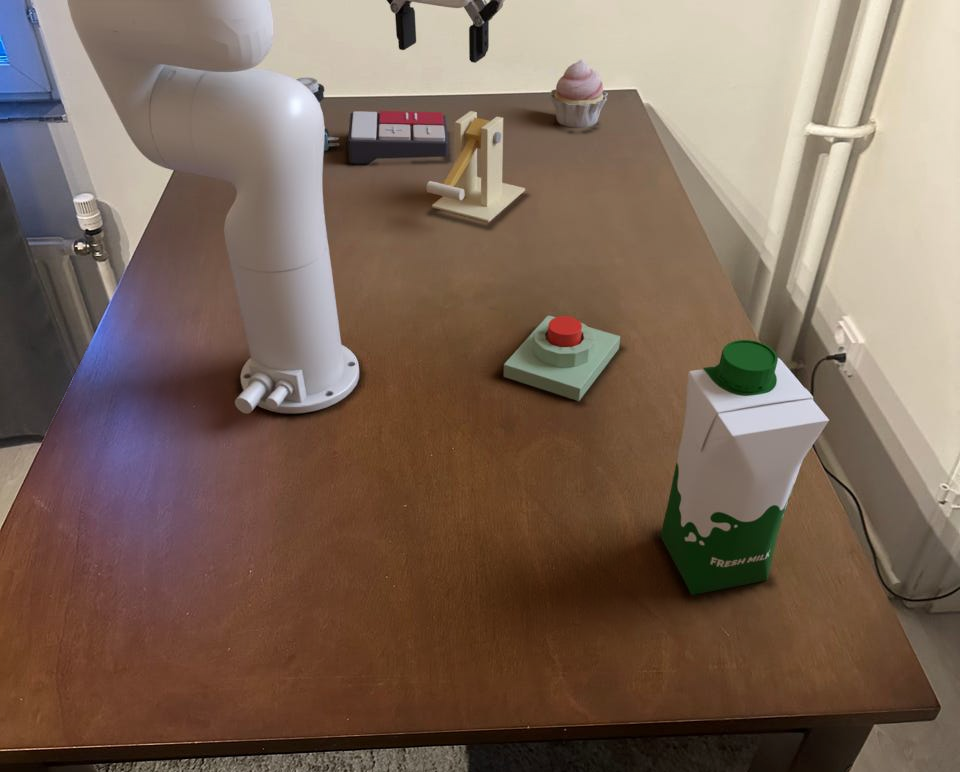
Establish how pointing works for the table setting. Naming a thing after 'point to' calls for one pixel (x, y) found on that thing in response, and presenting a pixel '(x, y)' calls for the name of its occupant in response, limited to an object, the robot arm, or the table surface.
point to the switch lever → (460, 163)
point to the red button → (564, 331)
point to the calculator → (396, 135)
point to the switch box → (562, 361)
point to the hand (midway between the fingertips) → (442, 52)
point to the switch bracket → (487, 191)
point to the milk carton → (737, 466)
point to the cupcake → (578, 96)
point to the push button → (318, 93)
